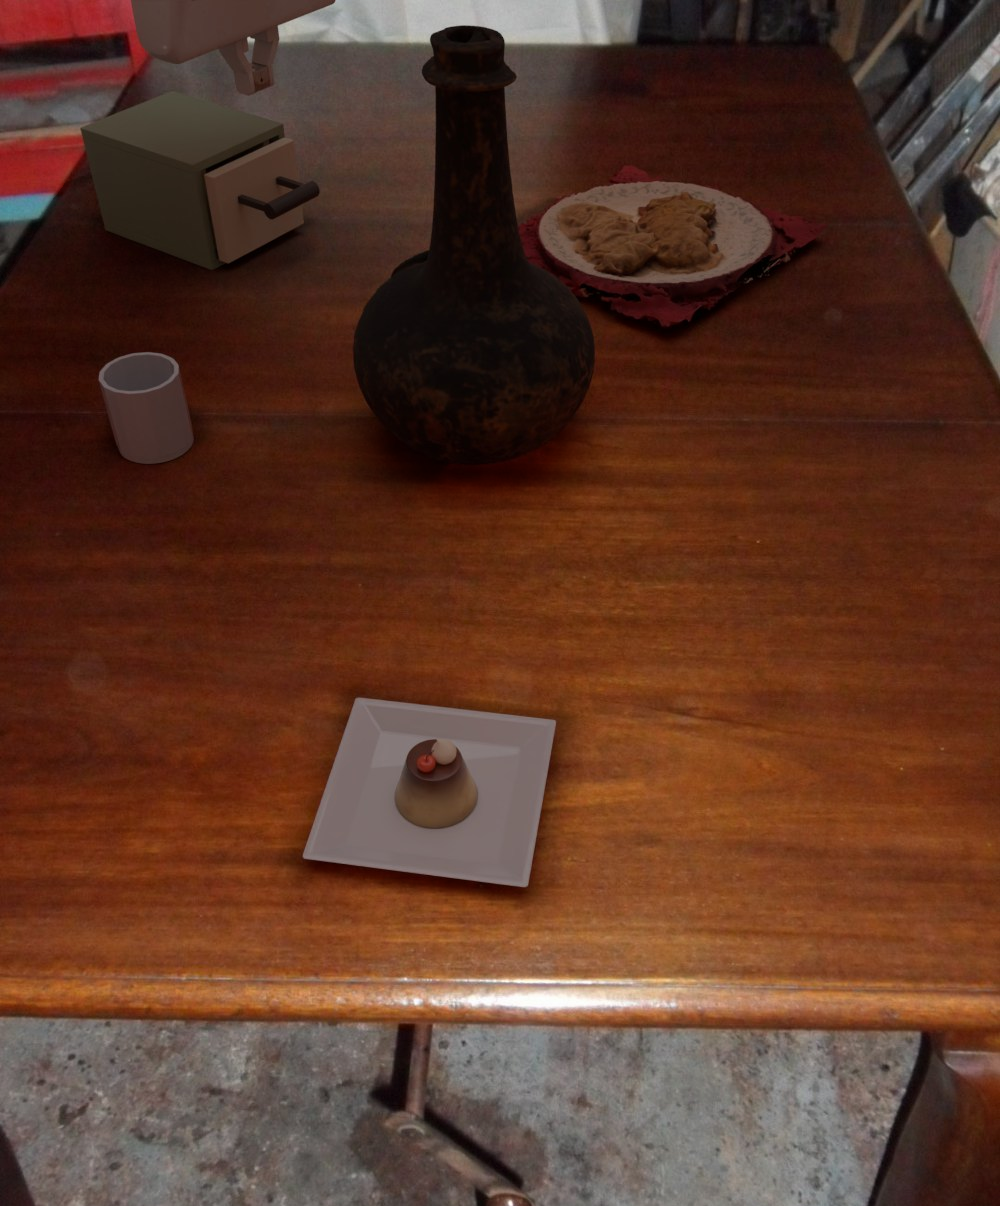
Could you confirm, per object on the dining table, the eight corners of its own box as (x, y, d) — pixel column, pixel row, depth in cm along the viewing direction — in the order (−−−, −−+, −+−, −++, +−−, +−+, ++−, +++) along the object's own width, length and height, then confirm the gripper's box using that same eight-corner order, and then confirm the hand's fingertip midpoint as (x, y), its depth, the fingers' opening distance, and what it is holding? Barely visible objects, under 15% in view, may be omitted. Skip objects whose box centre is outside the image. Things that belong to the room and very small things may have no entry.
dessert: (304, 870, 63) (292, 814, 60) (357, 709, 71) (350, 651, 68) (527, 899, 62) (528, 843, 58) (555, 732, 70) (558, 674, 67)
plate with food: (824, 244, 114) (832, 208, 112) (669, 339, 101) (674, 300, 98) (627, 180, 125) (629, 146, 123) (462, 258, 112) (462, 221, 109)
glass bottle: (508, 349, 100) (509, -30, 80) (638, 449, 90) (677, 44, 70) (320, 412, 94) (269, 16, 73) (437, 528, 83) (415, 106, 63)
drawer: (341, 236, 113) (332, 151, 108) (265, 277, 107) (252, 190, 102) (204, 189, 120) (190, 108, 115) (127, 226, 115) (107, 142, 109)
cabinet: (296, 226, 117) (283, 123, 110) (212, 270, 110) (192, 164, 103) (191, 189, 123) (172, 90, 116) (105, 230, 116) (79, 127, 109)
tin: (102, 447, 90) (82, 377, 86) (157, 414, 94) (141, 344, 89) (154, 472, 88) (136, 401, 84) (209, 437, 91) (195, 367, 87)
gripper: (289, -134, 99) (309, 48, 109) (100, -80, 87) (142, 118, 97) (347, -124, 96) (362, 62, 106) (160, -67, 85) (197, 135, 95)
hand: (255, 89), depth 102 cm, fingers closed
